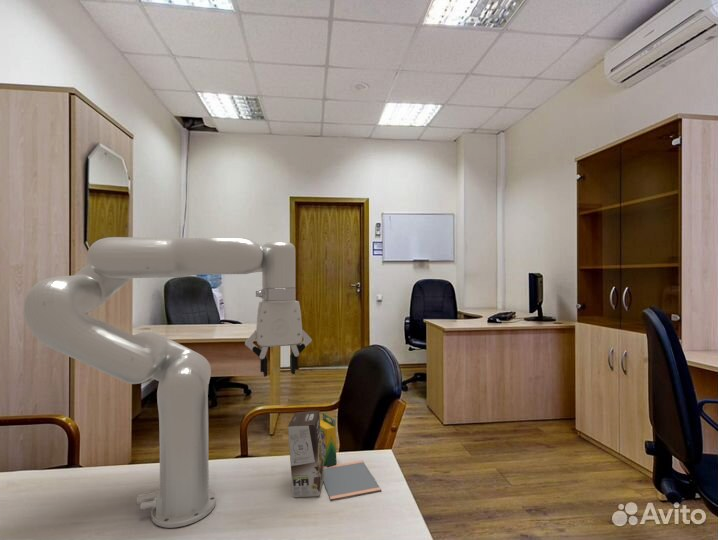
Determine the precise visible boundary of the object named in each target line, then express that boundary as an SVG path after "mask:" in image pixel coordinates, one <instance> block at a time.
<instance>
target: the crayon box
mask: <svg viewBox="0 0 718 540" xmlns="http://www.w3.org/2000/svg"><path fill="white" fill-rule="evenodd" d="M327 418H328V419H329V420H328V419H327ZM330 420H331V421H330ZM320 428H321V441H322V453H323V465H324V467H325V466H327V467H330V466H334V465H338V463H337V462H338V461H337V460H338V459H337V435H336V434H337V430H336V429H337V427H336V419H335V418H333V417H331V416H330V415H328V414H326V413H324V412H322V419H320Z"/></svg>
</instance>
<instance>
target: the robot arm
mask: <svg viewBox="0 0 718 540" xmlns="http://www.w3.org/2000/svg"><path fill="white" fill-rule="evenodd" d="M86 262H87V264H86V265H85V266H83V268H81V269H80V270H79V271H77V272H76V273H75V274H73V275H57V276H51V277H48V278H46V279H43V280H40V281H38V282H37V283H36V284H34V285H32V287H31V288H30V289H29V290H28V292H27V294H26V296H25V298H24V301H23V318H24V320H25V324H26V326H27V328H28V330H29V331H30V332H31V335H32V336H34V337H35V339H37V340H38V341H39V342H40V343H42V344H43V345H44V346H46V347H48V348H50V349H51V350H54V351H56V352H58V353H61V354H62V355H65V356H67V357H69V358H71V359H74V360H75V361H78V362H80V363H82V364H85V365H86V366H88V367H91V368H93V369H95V370H97V371H99V372H101V373H104V374H105V375H106V374H107V375H109V376H111V377H113V378H115V379H116V380H119V381H121V382H123V383H126V384H130V385H137V384H139V385H140V384H142V383H144V382H147V381H148V380H150V379H153V380H156V381H158V386H157V392H156V399H157V410H158V421H159V423H158V424H159V425H158V427H159V433H158V434H159V489H157V490H154V491H153V492H151V493H141V494H137V497H136V506H140V510H141V511H143V510H148V509H151V520H152V522H153V523H154V525H156V526H158V527H161V528H170V529H173V528H180V527H185V526H188V525H192V524H194V523H197V522H198V521H200V520H202V519H203V518H205V517H206V516H208V515H209V514H210V513H212V511H213V510H214V508H215V506H216V504H217V494H216V493H215V491H214V490H212V489H210V487H209V470H210V469H209V397H208V395H209V384H210V380H211V376H212V368H211V364H210V362H209V360H208V359H207V358H206V357H204V355H202V354H200V353H198V352H196V351H194V350H192V349H191V348H189V347H187V346H185V345H182V344H181V343H178V342H176V341H174V340H172V339H171V338H168V337H167V336H164V335H163V334H162V335H161V334H159V333H155V332H151V331H148V332H147V331H146V332H145V331H144V332H138V333H136V334H132V333H129V332H127V331H124V330H122V329H120V328H118V327H116V326H115V325H114V326H113V324H110V323H108V322H106V321H103V320H101V319H97V318H95V317H93V316H91V315H88V313H91V312H93V311H94V310H96V309H98V308H99V307H101V306H102V305H103V304H104V303H105V302H107V301H108V300H109V299H110V298H111V297H112V296H114V295H116V293H117V292H118V291H119V290H121V289H122V288H123V287H125V286H126V285H127V284H129V282H131V280H133V279H146V278H147V279H148V278H149V279H151V278H159V279H161V278H185V277H190V276H202V275H204V276H206V275H207V276H208V275H215V276H216V275H248V274H253V273H262V274H261V275H262V276H261V278H262V281H261V282H262V283H261V285H262V286H261V287H262V288H261V289H260V290H256V291H255V297H256V298H260V299H262V301H259V303H258V308H257V314H256V315H257V316H256V329H255V330H254V331H253V333H251V335H250V336H249V337H248V338H247V339H246V340H245V342H244V345H245V347H247V348H248V349H250V350H251V351H252V352H253V353H254V354H255V355H256V356H257V357H259V359H260V363H259V365H260V367H259V368H260V370H259V371H260V373H263V377H268V357H267V352H268V349H269V348H273V347H288V346H289V347H290V350H291V354H290V356H289V357H290V358H289V359H290V360H289V361H290V363H289V364H290V365H289V367H290V373H291V374H292V375H296V370H298V368H299V367H298V366H299V365H298V364H299V361H298V360H299V356H300V354H301V353H302V352H303V351H304V350H305V349H306V347H307V346H309V344H311V342H312V341H313V339H312V338H311V336H310V335H309V333H307V332H306V331H305V330H304V329H303V322H302V311H301V305H300V301H299V300H296V247H295V245H294V244H293V243H291V242H287V241H269V242H266V243H257V242H256V241H254V240H253V239H250V238H245V237H244V238H243V237H242V238H241V237H236V238H235V237H194V238H193V237H148V236H147V237H140V236H139V237H137V236H135V237H133V236H132V237H130V236H128V237H127V236H125V237H124V236H112V237H111V236H110V237H104V238H100V239H98V240H96V241H94V242H93V243H92V244H91V245H90V246H89V248H88V250H87V253H86ZM255 340H256V344H257V345H258V346H260V347H261V348H259V347H258V346H257V345H256V344H255V343H254V341H255Z"/></svg>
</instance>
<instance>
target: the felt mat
mask: <svg viewBox="0 0 718 540" xmlns="http://www.w3.org/2000/svg"><path fill="white" fill-rule="evenodd" d="M322 484H323V486H324V488H325V490H326V493H327V495H328V497H329V501H330V502H333V501H338V500H344V499H350V498H355V497H360V496H364V495H369V494H375V493H380V492H382V488H381V487H380V485H379V484H378V482H377V480H376V479H375V477H374V476H373V474H372V473H371V472H370V469H369V468H368V467H367V465H366V464H365V462H364V461H363V460H357V461H352V462H351V461H350V462H345V463H337V464H336V465H334V466H330V467H327V466H325V465H324V478H323V482H322Z"/></svg>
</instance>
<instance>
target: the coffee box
mask: <svg viewBox="0 0 718 540" xmlns="http://www.w3.org/2000/svg"><path fill="white" fill-rule="evenodd" d="M320 415H321V414H320V410H309V411H302V412H301V411H300V412H294V413H293V416H292V417H291V420H290V422H289V424H288V426H287V431H288V445H289V446H288V447H289V459H290V460H289V461H290V463H289V464H290V473H291V474H290V476H291V487H292V489H291V490H292V497H293V498H303V497H304V498H307V497H319V496H320V495H321V490H322V487H323V478H324V467H325V465H324V464H323V453H322V441H321V428H320V420H321V417H320Z"/></svg>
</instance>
